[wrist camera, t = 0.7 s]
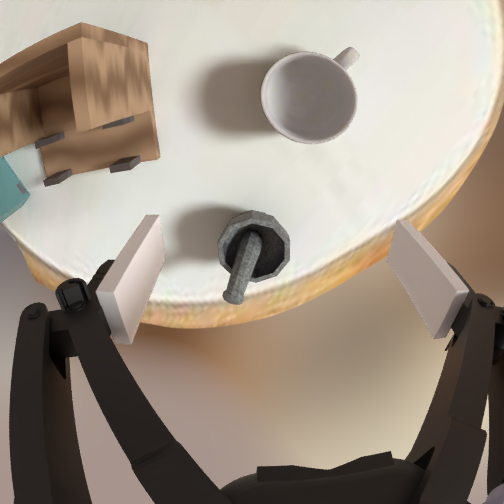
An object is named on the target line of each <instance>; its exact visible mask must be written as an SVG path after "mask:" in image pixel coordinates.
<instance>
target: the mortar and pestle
mask: <svg viewBox="0 0 504 504" xmlns="http://www.w3.org/2000/svg"><path fill="white" fill-rule="evenodd" d="M218 252H219V259H220V264H221V265H222V266H223V267H224V268H225V269H226V270H227V271H228V272H229V273H230V274H231V275H230V279H229V282H228V286H227V290H225V291H224V292H223V298H224V300H225V301H227V302H228V303H231V304H236V305H240V304H241V303H243V301H244V296H243V295H244V292H245V290H246V287H247V285H248V282H249V281H251V282H259V281H263V280H266V279H269V278H272V277H275V276H277V275H278V274H279V273H280V271H281V270H282V269H283V268H284V267H285V265H286V264H287V263H288V262H289V260H290V239H289V235H288V234H287V232H286V231H285V230H284V228H283V227H282V226H281V225H280V224H279V223H278V221H277V220H276V219H275V218H274V217H273V216H271V215H266V213H263V212H258V211H254V210H251V211H249V212H246V213H243V214H240V216H237V217H234V218H232V219H231V220H230V222H229V223H228V225H227V226H226V228H225V229H224V231H223V233H222V234H221V236H220V237H219V239H218Z"/></svg>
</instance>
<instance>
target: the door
mask: <svg viewBox="0 0 504 504" xmlns="http://www.w3.org/2000/svg"><path fill="white" fill-rule="evenodd" d="M29 196H30V194H29V192H28V191H27V190H26V188H25V187H24V185H23V184H22V183H21V181H20V180H19V179H18V177H17V176H16V174H15V173H14V172H13V170H12V169H11V167H10V166H9V164H8V163H7V161H6V160H5V158H4V157H3V156H2V157H0V223H1V222H2V221H4V220H5V219H6V218H7V217H9V216H10V215H11V214H13V213H14V212H15V211H17V210H18V209H19V208H21V207H22V206H23V205H24V203H25V202H26V200H27V199H28V197H29Z"/></svg>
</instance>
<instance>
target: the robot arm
mask: <svg viewBox="0 0 504 504" xmlns="http://www.w3.org/2000/svg"><path fill="white" fill-rule="evenodd" d="M165 259H166V258H165V251H164V244H163V237H162V230H161V222H160V215H146V216H145V217H144V219H143V220H142V222H141V223H140V224H139V226H138V227H137V229H136V230H135V232H134V233H133V234H132V236H131V237H130V239H129V240H128V242H127V243H126V245H125V246H124V248H123V249H122V251H121V252H120V254H119V255H118V257H117V258H116V260H107V261H106V262H105V263H103V264H102V265H101V266H100V267H99V269H98V270H97V272H96V274H95V275H94V276H93V277H92V279H91V281H90V282H89V284H88V285H86V282H85V281H84V280H83V279H80V278H73V279H69V280H66V281H65V282H63V283H61V284H60V285H59V286H58V287H57V289H56V297H57V300H58V302H59V304H60V306H61V310H55V311H48V309H47V307H46V305H45V304H43V303H40V302H39V303H34V304H31V305H29V306H27V307H26V308H25V309H24V310H23V311H22V314H21V316H20V321H19V327H18V332H17V338H16V345H15V352H14V359H13V368H12V379H11V391H10V413H9V415H10V416H9V438H10V458H11V459H10V460H11V472H12V481H13V489H14V496H15V498H14V504H92V502H91V498H90V494H89V490H88V486H87V482H86V478H85V474H84V469H83V465H82V460H81V456H80V450H79V445H78V438H77V432H76V425H75V418H74V410H73V401H72V391H71V378H70V362H69V357H76V356H78V357H79V360H80V362H81V365H82V368H83V370H84V372H85V375H86V377H87V379H88V382H89V384H90V386H91V389H92V391H93V393H94V395H95V397H96V399H97V402H98V404H99V406H100V408H101V410H102V412H103V414H104V416H105V418H106V420H107V422H108V423H109V426H110V427H111V429H112V431H113V433H114V435H115V437H116V438H117V440H118V442H119V444H120V446H121V447H122V449H123V451H124V453H125V454H126V456H127V457H128V459H129V461H130V463H131V466H132V469H133V471H134V473H135V475H136V477H137V478H138V480H139V481H140V483H141V484H142V486H143V487H144V489H145V490H146V492H147V493H148V494H149V496H150V497H151V499H152V500H153V501H154V503H155V504H471V503H469V502H468V501H467V499H468V496H469V494H470V491H471V488H472V486H473V483H474V480H475V477H476V474H477V471H478V467H479V464H480V461H481V457H482V453H483V450H484V446H485V442H486V437H487V433H486V431H485V430H482V429H481V425H482V421H483V416H484V411H485V406H486V400H487V396H488V400H489V457H488V470H487V494H488V497H487V500H486V502H484V503H483V504H504V307H503V308H502V307H497V306H495V304H494V302H493V301H492V300H491V299H490V298H489V297H488V296H485V295H484V294H479V293H477V294H476V293H475V292H474V291H473V289H472V288H471V287H470V286H469V284H468V283H467V282H466V281H465V280H464V279H463V277H462V276H461V275H459V272H458V271H457V270H456V269H455V268H454V267H453V266H452V265H450V264H449V263H448V262H446V261H445V260H444V259H443V258H442V257H441V256H440V254H439V253H438V252H437V251H436V250H435V249H434V248H433V246H432V245H431V244H430V243H429V242H428V241H427V240H426V239H425V238H424V237H423V235H422V234H421V233H420V232H419V231H418V230H417V229H416V228H415V227H414V226H413V225H412V224H411V223H410V222H409V221H408V220H397V222H396V226H395V230H394V235H393V239H392V243H391V247H390V250H389V254H388V258H387V262H388V263H389V265H390V267H391V268H392V270H393V271H394V273H395V274H396V276H397V278H398V279H399V281H400V282H401V284H402V286H403V287H404V289H405V290H406V292H407V294H408V295H409V297H410V299H411V301H412V302H413V304H414V306H415V307H416V309H417V311H418V312H419V314H420V316H421V318H422V319H423V321H424V323H425V325H426V326H427V328H428V330H429V332H430V334H431V336H432V337H433V339H438V338H445V337H446V336H447V334H448V332H449V330H450V329H451V328H452V329H453V331H454V335H453V337H452V338H451V340H450V342H449V344H448V345H447V347H446V349H445V351H447V350H448V353H447V356H446V360H445V363H444V366H443V370H442V373H441V376H440V379H439V382H438V385H437V388H436V391H435V394H434V397H433V400H432V402H431V405H430V407H429V410H428V413H427V415H426V418H425V420H424V423H423V425H422V427H421V430H420V432H419V434H418V437H417V439H416V441H415V443H414V445H413V448H412V450H411V452H410V453H409V455H408V456H407V457H406V459H405V460H402V459H395V458H392V454H391V451H389V452H384V453H380V454H375V455H370V456H364V457H360V458H358V459H356V460H353V461H351V462H348V463H346V464H344V465H341V466H339V467H336V468H333V469H330V470H324V469H315V468H307V467H300V466H294V465H289V466H266V467H265V466H259V467H257V472H256V473H255V474H251V475H247V476H244V477H241V478H239V479H237V480H234V481H232V482H231V483H229V484H227V485H226V486H224V487H223V488H222V489H220V490H219V489H218V487H217V486H216V485H215V484H214V483H213V482H212V481H211V480H210V479H209V477H208V476H207V475H206V474H205V473H204V472H203V470H202V469H201V468H200V467H199V466H198V465H197V463H196V462H195V461H194V460H193V459H192V457H191V456H190V455H189V454H188V452H187V451H186V450H185V449H184V447H183V446H182V445H181V444H180V443H179V442H177V441H176V440H175V439H174V437H173V436H172V434H171V433H170V432H169V430H168V429H167V428H166V426H165V425H164V423H163V422H162V421H161V419H160V418H159V417H158V415H157V414H156V412H155V410H154V409H153V408H152V406H151V405H150V403H149V402H148V400H147V399H146V397H145V395H144V394H143V392H142V391H141V389H140V388H139V386H138V385H137V383H136V381H135V380H134V378H133V376H132V375H131V373H130V371H129V370H128V368H127V366H126V365H125V363H124V361H123V359H122V358H121V356H120V354H119V352H118V351H117V349H116V347H115V345H114V343H113V341H112V339H111V338H110V335H111V334H112V337H113V339H114V342H115V343H120V344H128V345H131V344H132V342H133V339H134V336H135V333H136V331H137V328H138V326H139V323H140V320H141V318H142V315H143V313H144V310H145V307H146V305H147V302H148V300H149V297H150V295H151V292H152V290H153V288H154V285H155V283H156V280H157V278H158V275H159V273H160V271H161V268H162V266H163V264H164V261H165ZM448 348H449V349H448Z"/></svg>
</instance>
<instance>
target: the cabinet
mask: <svg viewBox="0 0 504 504" xmlns="http://www.w3.org/2000/svg"><path fill="white" fill-rule="evenodd" d="M36 141H37V142H36ZM34 142H35V146H36V149H37V148H40V149H41V154H42V159H43V163H44V168H45V172H46V176H47V179H45V180H43V181H44V185H45V187H46V186H50V185H55V184H59V183H61V182H62V181H64V180H65V179H67V178H68V177H70V176H72V175H74V174H79V173H83V172H88V171H93V170H98V169H103V168H109V167H110V172H111V173H115V172H120V171H127V170H131V169H132V168H134V167H135V166H136V165H138V164H139V163H140V162H144V161H151V160H157V159H159V158H160V151H159V145H158V138H157V130H156V123H155V115H154V107H153V98H152V89H151V80H150V69H149V58H148V45H147V43H145V42H142V41H140V40H137V39H134V38H131V37H128V36H125V35H122V34H119V33H116V32H113V31H110V30H106V29H103V28H100V27H96V26H93V25H89V24H85V23H82V22H81V23H78V24H76V25H74V26H71V27H69V28H67V29H64V30H62V31H60V32H58V33H56V34H53V35H51V36H49V37H47V38H45V39H43V40H41V41H39V42H37V43H35V44H34V45H32V46H30V47H28V48H26V49H24V50H23V51H21V52H19V53H17V54H16V55H14V56H12V57H10V58H9V59H7V60H6V61H4V62H2V63H1V64H0V157H2V156H4V155H6V154H8V153H11V152H13V151H15V150H17V149H19V148H22V147H24V146H26V145H29V144H31V143H34Z"/></svg>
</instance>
